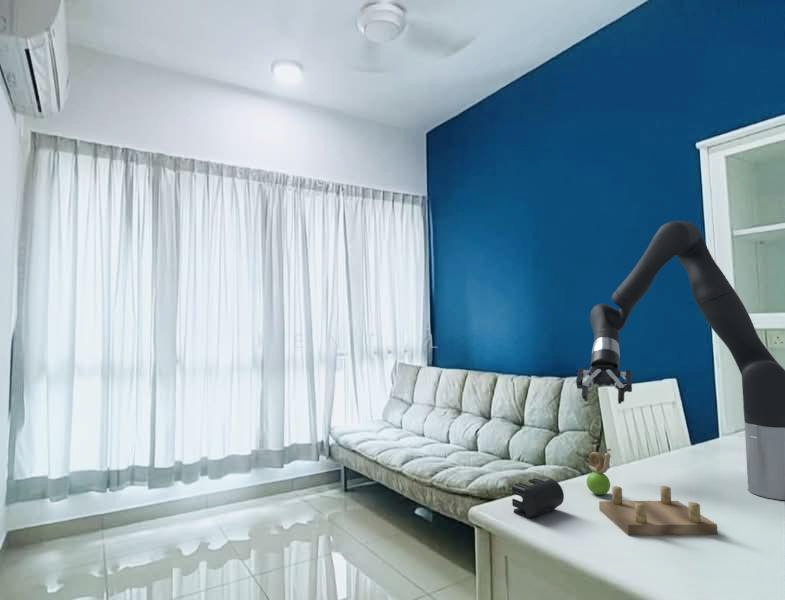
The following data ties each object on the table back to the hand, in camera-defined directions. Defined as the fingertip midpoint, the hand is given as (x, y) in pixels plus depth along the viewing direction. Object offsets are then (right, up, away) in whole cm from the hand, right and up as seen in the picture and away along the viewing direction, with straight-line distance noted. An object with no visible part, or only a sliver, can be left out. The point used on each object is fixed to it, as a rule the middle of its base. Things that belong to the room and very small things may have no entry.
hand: (602, 400), depth 128 cm
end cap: (-25, -21, -22) cm, 39 cm away
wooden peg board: (-1, -20, -28) cm, 34 cm away
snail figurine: (-6, -21, -11) cm, 25 cm away
